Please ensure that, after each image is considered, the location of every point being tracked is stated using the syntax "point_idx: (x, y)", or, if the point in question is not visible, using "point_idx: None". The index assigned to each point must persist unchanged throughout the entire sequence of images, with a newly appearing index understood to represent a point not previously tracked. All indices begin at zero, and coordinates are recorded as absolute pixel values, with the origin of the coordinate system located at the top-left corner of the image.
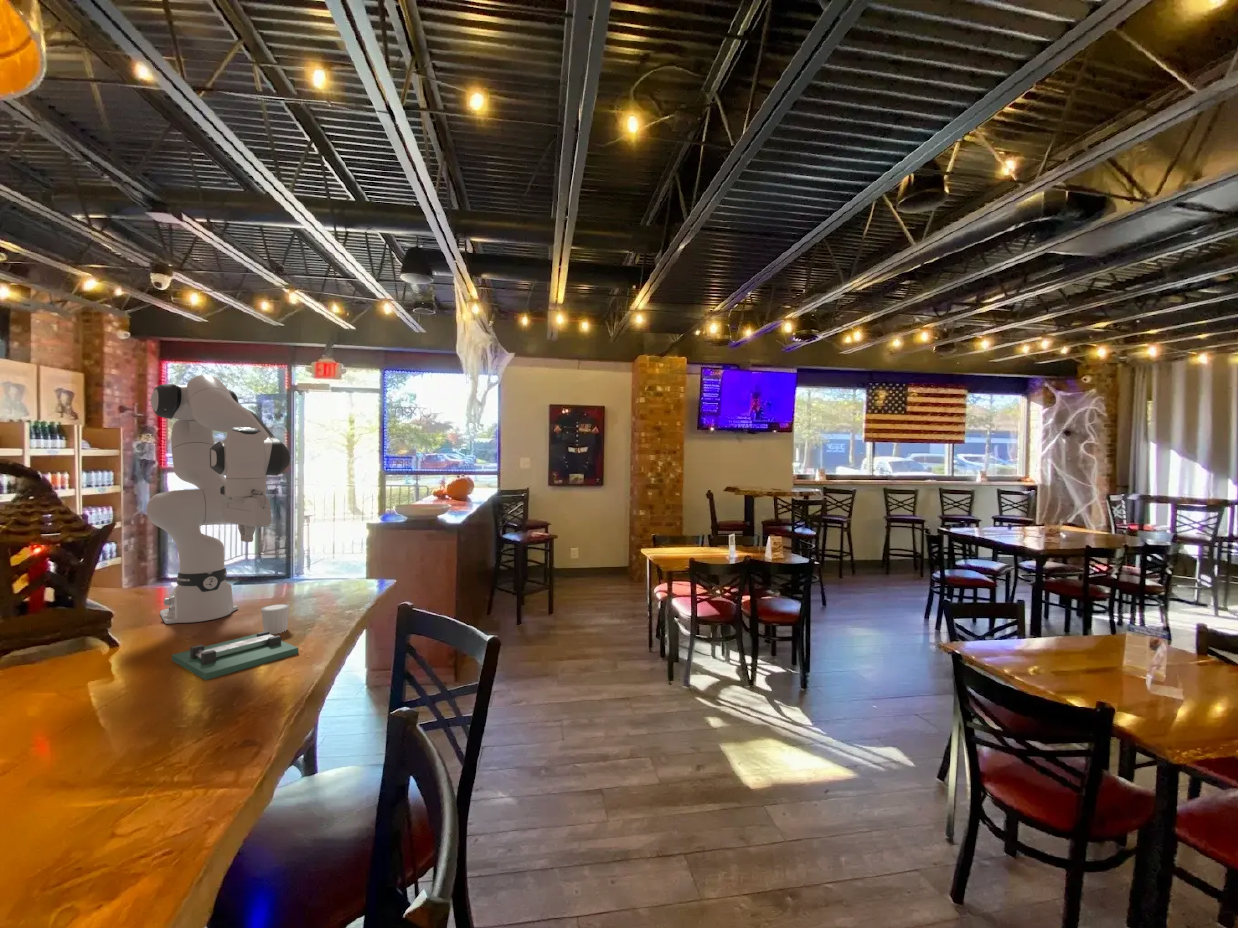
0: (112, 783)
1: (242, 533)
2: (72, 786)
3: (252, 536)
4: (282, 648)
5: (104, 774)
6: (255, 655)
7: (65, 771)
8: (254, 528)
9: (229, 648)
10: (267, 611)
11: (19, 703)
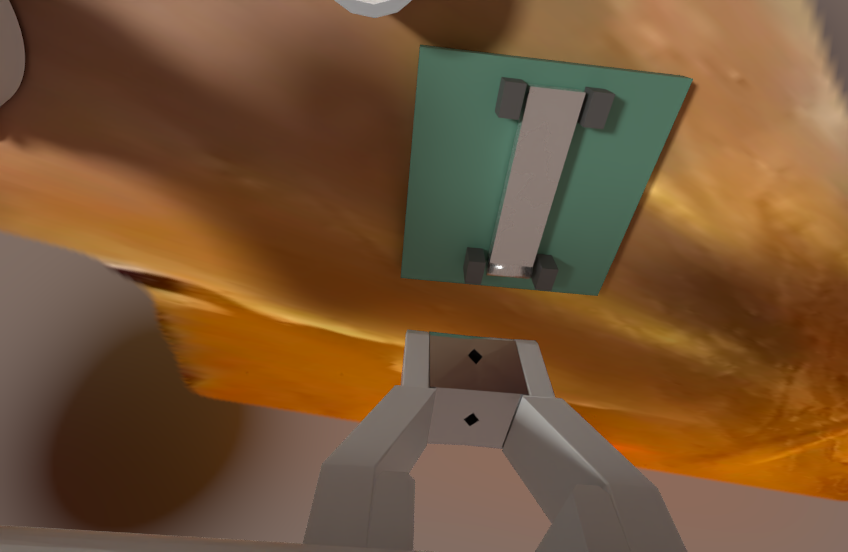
0: (762, 442)
1: (418, 450)
2: (722, 455)
3: (546, 384)
4: (643, 112)
5: (735, 440)
6: (610, 186)
7: (682, 450)
8: (655, 503)
9: (541, 225)
10: (400, 9)
11: None
